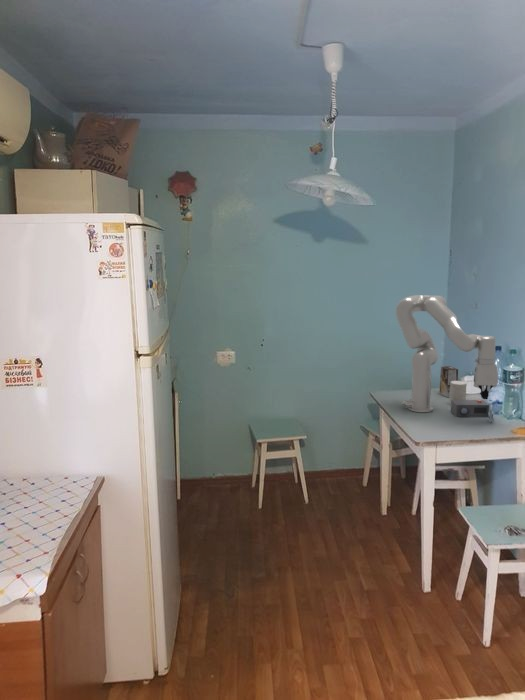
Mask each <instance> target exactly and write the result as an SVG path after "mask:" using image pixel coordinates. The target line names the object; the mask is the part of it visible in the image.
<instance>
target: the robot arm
mask: <svg viewBox="0 0 525 700" xmlns="http://www.w3.org/2000/svg"><path fill="white" fill-rule="evenodd" d="M416 312H426V313H428V314H429V315H430V316H431V317H432V318H433V319H434V320H435V322H437V323H438V324H439V325H440V327H441V328H442V329H443V331H444V333H445V334H446V335H447V337H448V339H449V341H451V342H452V344H454V345H455V347H457V348H458V349H459V350H460V351H462V352H463V353H464V352H466V353H468V352H469V353H470V352H472V351H473V350H477V357H476V358H475V359H474V362H475V363H476V364H475V367H474V373H473V387H474V388H478V389H479V390H480V396H481V398H482V400H488V399H489V393H490V391H491V389H493V388H496V387H497V386H498V380H499V378H498V377H499V376H498V365H497V364H496V363H495V360H496V359H495V357H496V337H494V336H493V335H479V334H475V333H471V334H467V333H466V332H465V331H463V329H462V328H461V327H460V324H459V322H458V317H457V315H456V314H455V313H454V312H453V311H452V310H451V309H450V308H449V307H448V305H447V300H446V298H444V297H443V296H442V295H425V294H423V295H421V294H417V295H416V294H415V295H410V296H406V297H404V298H402V299H401V300H400V301H399V302H398V303H397V305H396V308H395V316H396V320H397V321H398V325H399V327H400V329H401V332H402V335H403V338H404V340H405V343H406V344H407V346H408V347H409V348H410V349H412V350H417V351H416V352H415V353H413V355H412V357H411V371H412V374H411V377H412V378H411V398H410V399H409V400H407V401H405V400H404V401H402V400H401V405H402V406H406V407H407V409H408V410H409V411H412V412H415V413H431V412H433V411H434V408H433V406H432V405H431V394H432V393H431V391H432V370H431V367H432V366H433V365H435V364H436V363H437V361H438V359H439V354H438V351H437V349H436V346H435V343H434V341H433V337H431V335H430V332H429V331H427V330H426V329H424V328H420V327H419V324H418V322H417V320H416V318H415V317H414V315H413V313H416Z"/></svg>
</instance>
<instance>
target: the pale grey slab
mask: <svg viewBox="0 0 525 700" xmlns="http://www.w3.org/2000/svg"><path fill="white" fill-rule="evenodd" d="M492 419H494V413H493V404H492V403H491V404H489V423H492Z"/></svg>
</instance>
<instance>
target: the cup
mask: <svg viewBox="0 0 525 700" xmlns="http://www.w3.org/2000/svg"><path fill="white" fill-rule="evenodd" d="M466 397H467V382H466V381H462V380H458V381H451V383H450V397H449V405H450V406H451V400H467V399H466Z"/></svg>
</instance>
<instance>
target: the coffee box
mask: <svg viewBox="0 0 525 700" xmlns="http://www.w3.org/2000/svg"><path fill="white" fill-rule="evenodd" d="M439 373H440V378H439V394H441V396H443V397H446V398H450V383H451V381H459V377H458V376H459V369H458V368H455V367H453V366H450V365H449V366H440V372H439Z"/></svg>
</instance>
